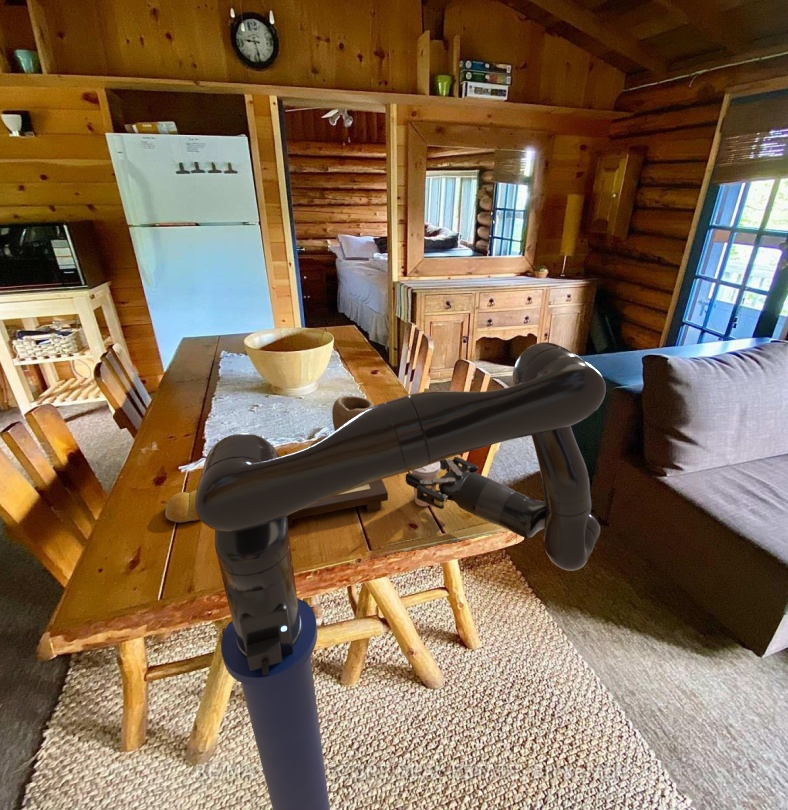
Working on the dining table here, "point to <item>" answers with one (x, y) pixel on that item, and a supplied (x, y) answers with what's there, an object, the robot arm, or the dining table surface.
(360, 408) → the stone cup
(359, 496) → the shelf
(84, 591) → the dining table surface
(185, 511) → the bread roll
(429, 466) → the smoothie
